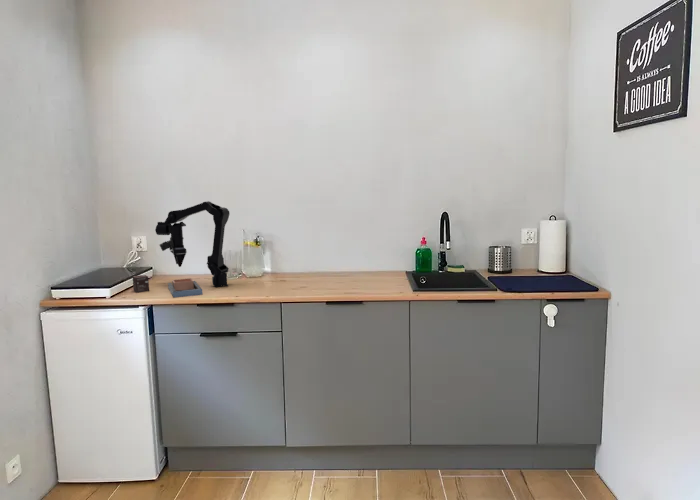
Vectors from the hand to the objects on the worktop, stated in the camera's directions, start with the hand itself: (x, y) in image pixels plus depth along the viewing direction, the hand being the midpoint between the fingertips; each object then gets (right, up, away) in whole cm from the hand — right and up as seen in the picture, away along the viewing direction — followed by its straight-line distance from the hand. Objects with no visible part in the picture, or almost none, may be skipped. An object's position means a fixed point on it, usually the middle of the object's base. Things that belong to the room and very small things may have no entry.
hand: (178, 265), depth 264 cm
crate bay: (+8, -12, -15) cm, 21 cm away
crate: (+6, -11, -10) cm, 16 cm away
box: (-14, -12, -13) cm, 23 cm away
